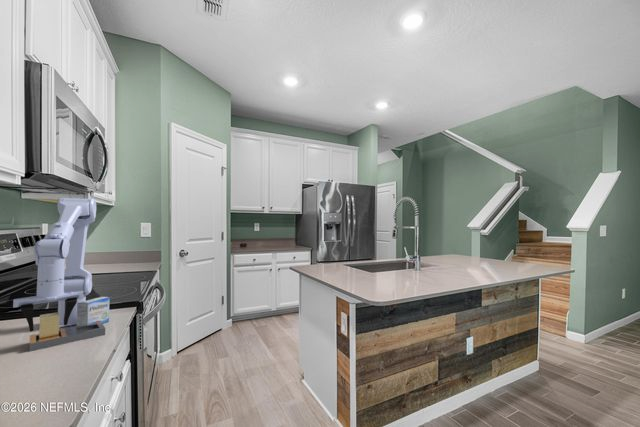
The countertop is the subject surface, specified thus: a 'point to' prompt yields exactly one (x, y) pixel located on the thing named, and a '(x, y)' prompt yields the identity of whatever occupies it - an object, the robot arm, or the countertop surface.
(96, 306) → the medicine box
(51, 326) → the peg
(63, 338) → the rail
